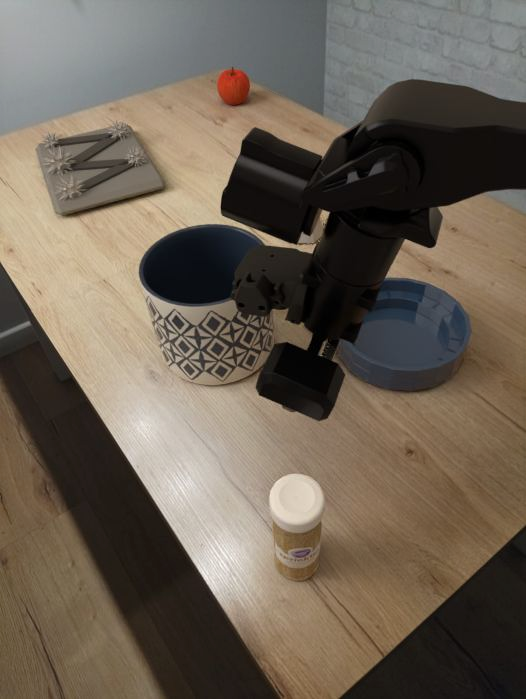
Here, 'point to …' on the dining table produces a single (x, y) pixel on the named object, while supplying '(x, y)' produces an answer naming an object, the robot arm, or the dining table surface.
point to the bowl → (409, 337)
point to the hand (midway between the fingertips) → (302, 373)
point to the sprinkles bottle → (296, 525)
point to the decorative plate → (96, 168)
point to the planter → (203, 305)
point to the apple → (233, 86)
